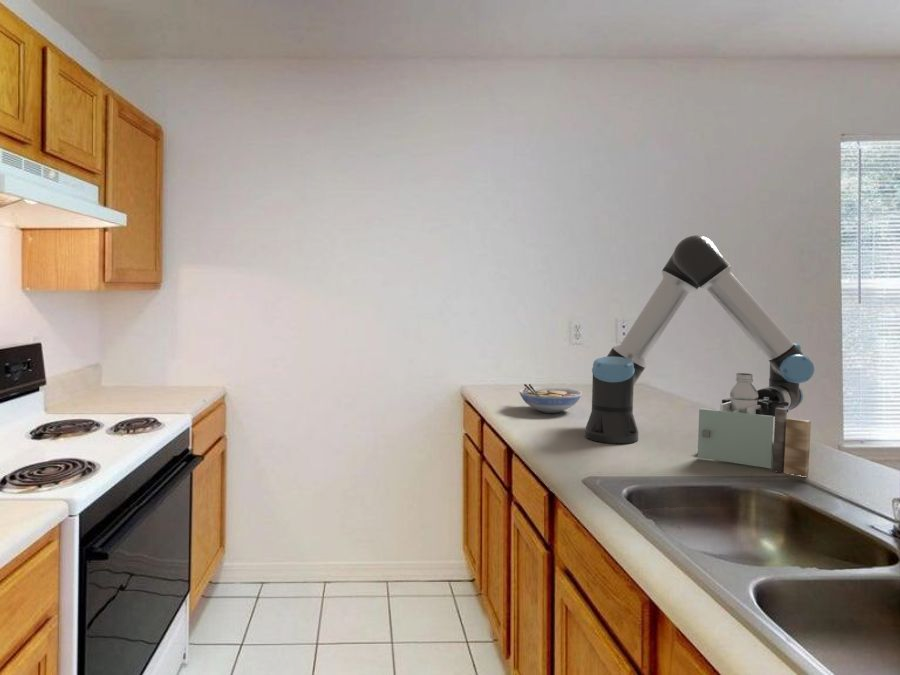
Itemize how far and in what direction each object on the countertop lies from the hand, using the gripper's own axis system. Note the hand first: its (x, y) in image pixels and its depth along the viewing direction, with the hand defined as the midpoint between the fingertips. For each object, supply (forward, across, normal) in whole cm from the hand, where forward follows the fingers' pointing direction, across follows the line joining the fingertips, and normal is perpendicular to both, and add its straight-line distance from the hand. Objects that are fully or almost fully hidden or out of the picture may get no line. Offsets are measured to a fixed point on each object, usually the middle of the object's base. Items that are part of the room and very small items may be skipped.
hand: (735, 411), depth 143 cm
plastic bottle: (-5, 0, -11) cm, 12 cm away
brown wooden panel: (-2, -3, -13) cm, 13 cm away
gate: (+2, -1, -12) cm, 13 cm away
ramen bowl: (-17, +72, -13) cm, 75 cm away
